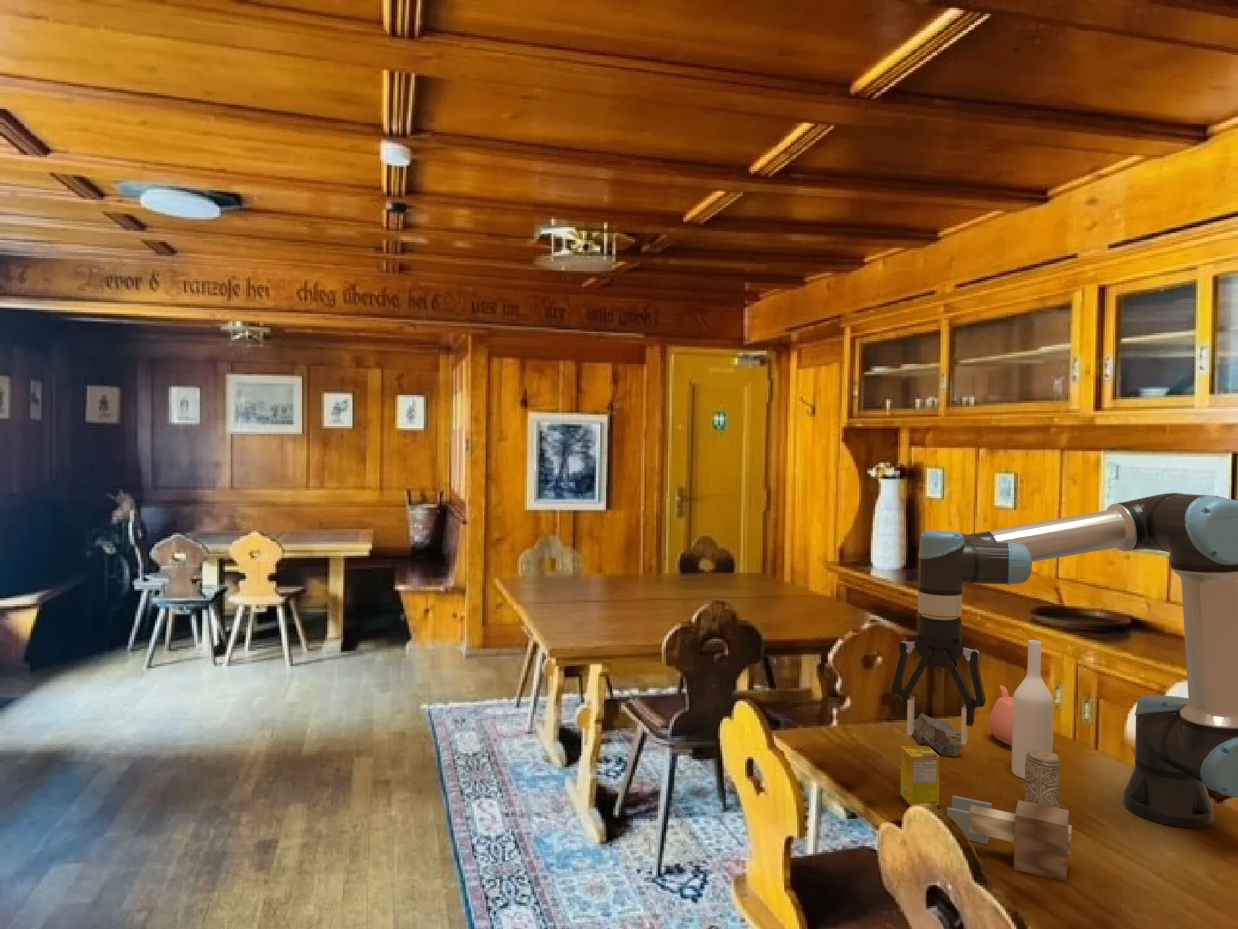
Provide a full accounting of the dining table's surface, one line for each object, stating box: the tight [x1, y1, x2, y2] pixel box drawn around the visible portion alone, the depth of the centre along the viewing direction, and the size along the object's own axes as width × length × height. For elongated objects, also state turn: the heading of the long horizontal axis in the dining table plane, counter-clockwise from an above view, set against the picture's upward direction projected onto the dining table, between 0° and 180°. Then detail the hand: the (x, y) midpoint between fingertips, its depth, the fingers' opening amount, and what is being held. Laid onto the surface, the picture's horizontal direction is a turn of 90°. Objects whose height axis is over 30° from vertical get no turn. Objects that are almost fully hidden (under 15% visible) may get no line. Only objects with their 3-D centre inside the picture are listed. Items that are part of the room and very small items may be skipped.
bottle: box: [1011, 639, 1054, 780], centre depth 186 cm, size 8×8×30 cm
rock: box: [912, 713, 964, 757], centre depth 203 cm, size 17×7×10 cm
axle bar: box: [969, 805, 1073, 855], centre depth 147 cm, size 16×4×4 cm, turn 60°
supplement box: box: [900, 745, 941, 809], centre depth 171 cm, size 6×6×11 cm
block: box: [1013, 799, 1070, 882], centre depth 145 cm, size 8×7×10 cm
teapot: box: [988, 684, 1055, 750], centre depth 207 cm, size 13×20×12 cm, turn 2°
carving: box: [1024, 750, 1061, 808], centre depth 167 cm, size 6×8×12 cm
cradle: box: [946, 795, 993, 845], centre depth 158 cm, size 7×7×5 cm
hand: (936, 737), depth 154 cm, fingers open, 9 cm apart
